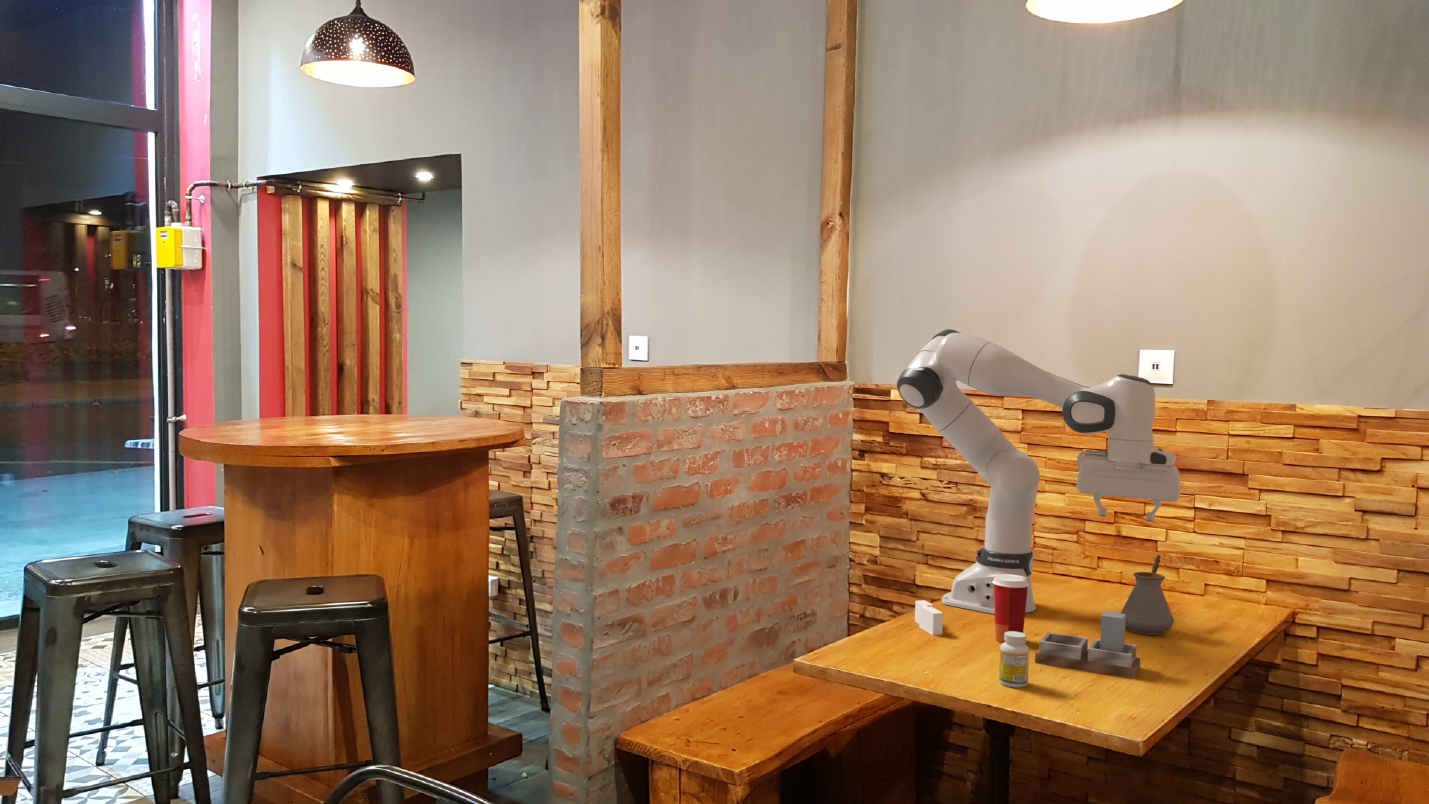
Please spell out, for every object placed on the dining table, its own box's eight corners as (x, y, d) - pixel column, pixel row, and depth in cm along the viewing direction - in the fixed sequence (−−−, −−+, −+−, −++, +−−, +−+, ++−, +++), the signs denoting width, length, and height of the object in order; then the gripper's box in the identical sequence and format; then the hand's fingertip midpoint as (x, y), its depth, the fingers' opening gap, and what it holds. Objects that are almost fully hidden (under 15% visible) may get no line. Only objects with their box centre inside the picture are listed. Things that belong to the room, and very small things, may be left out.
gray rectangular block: (1099, 660, 209) (1101, 615, 209) (1103, 655, 213) (1104, 611, 212) (1120, 663, 207) (1122, 618, 207) (1123, 658, 211) (1125, 614, 210)
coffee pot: (1169, 640, 232) (1172, 573, 231) (1115, 632, 238) (1117, 566, 237) (1182, 619, 250) (1185, 557, 249) (1131, 612, 256) (1134, 551, 255)
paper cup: (1028, 638, 231) (1030, 575, 231) (1026, 647, 224) (1028, 582, 223) (991, 634, 234) (993, 572, 233) (988, 643, 227) (990, 579, 226)
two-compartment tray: (1034, 662, 214) (1035, 640, 213) (1043, 652, 221) (1044, 631, 220) (1134, 678, 204) (1135, 655, 204) (1140, 667, 211) (1141, 645, 211)
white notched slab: (948, 640, 230) (949, 615, 230) (897, 634, 234) (897, 609, 234) (961, 624, 244) (961, 600, 243) (912, 618, 248) (913, 594, 248)
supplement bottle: (1020, 690, 196) (1022, 639, 196) (994, 684, 200) (995, 634, 199) (1032, 683, 200) (1034, 633, 200) (1006, 677, 204) (1007, 628, 203)
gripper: (1075, 450, 221) (1071, 515, 222) (1180, 458, 211) (1176, 526, 212) (1080, 447, 227) (1077, 511, 228) (1183, 455, 217) (1179, 521, 218)
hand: (1126, 518), depth 220 cm, fingers open, 8 cm apart
